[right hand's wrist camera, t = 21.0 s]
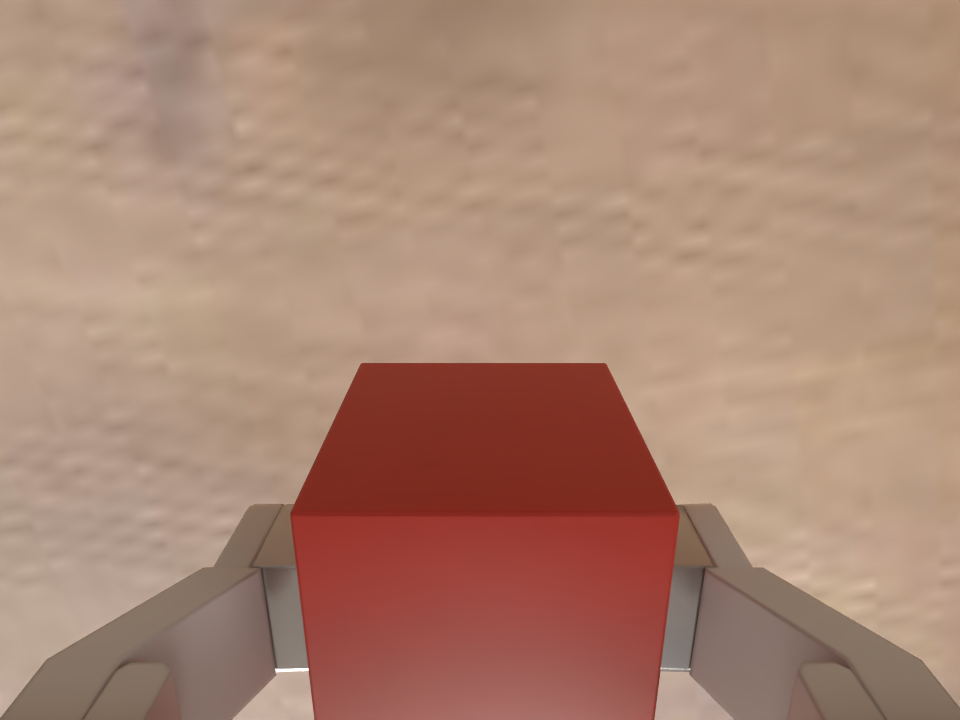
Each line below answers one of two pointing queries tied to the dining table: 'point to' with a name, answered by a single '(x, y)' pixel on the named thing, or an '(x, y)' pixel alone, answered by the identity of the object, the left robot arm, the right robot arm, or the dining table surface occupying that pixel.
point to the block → (484, 548)
